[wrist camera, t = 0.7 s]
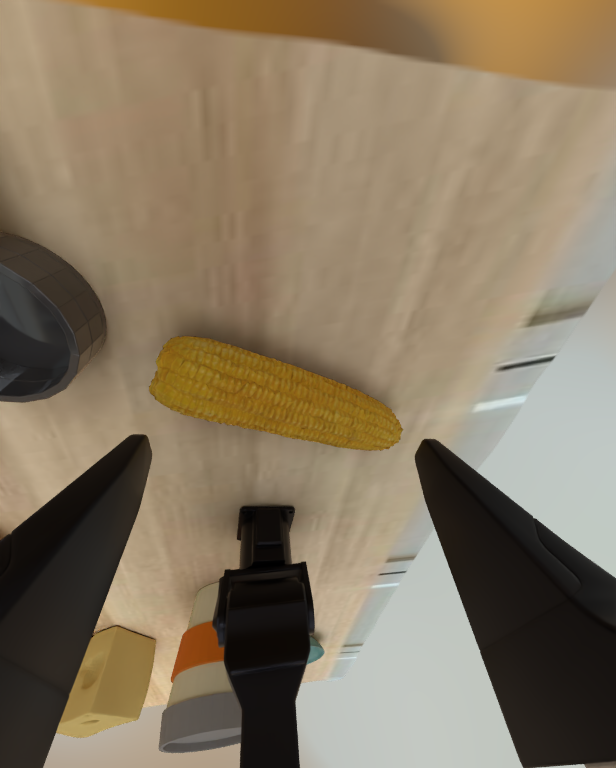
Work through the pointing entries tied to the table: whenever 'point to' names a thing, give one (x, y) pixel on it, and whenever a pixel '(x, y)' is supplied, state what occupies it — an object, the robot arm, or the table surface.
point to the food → (268, 396)
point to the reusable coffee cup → (200, 688)
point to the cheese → (109, 683)
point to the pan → (43, 322)
